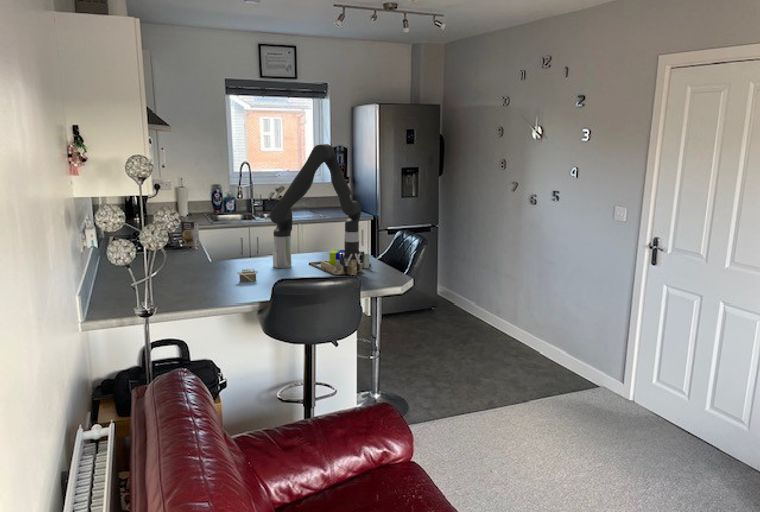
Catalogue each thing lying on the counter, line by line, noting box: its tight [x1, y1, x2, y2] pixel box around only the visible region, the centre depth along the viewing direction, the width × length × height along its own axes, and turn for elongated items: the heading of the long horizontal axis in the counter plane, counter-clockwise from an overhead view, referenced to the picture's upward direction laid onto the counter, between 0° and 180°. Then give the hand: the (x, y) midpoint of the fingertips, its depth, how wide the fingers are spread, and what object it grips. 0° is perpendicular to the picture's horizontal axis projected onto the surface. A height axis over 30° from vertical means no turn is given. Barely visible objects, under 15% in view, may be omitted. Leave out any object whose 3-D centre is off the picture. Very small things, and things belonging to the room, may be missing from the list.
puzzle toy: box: [329, 249, 346, 267], centre depth 301 cm, size 10×10×10 cm
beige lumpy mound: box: [320, 259, 363, 276], centre depth 298 cm, size 16×23×8 cm
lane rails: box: [308, 260, 372, 272], centre depth 314 cm, size 29×19×1 cm, turn 122°
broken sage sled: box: [358, 251, 370, 269], centre depth 315 cm, size 9×22×8 cm, turn 32°
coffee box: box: [180, 219, 200, 247], centre depth 363 cm, size 9×6×16 cm
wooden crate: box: [236, 268, 259, 283], centre depth 275 cm, size 12×18×7 cm, turn 109°
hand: (351, 271), depth 292 cm, fingers open, 6 cm apart
